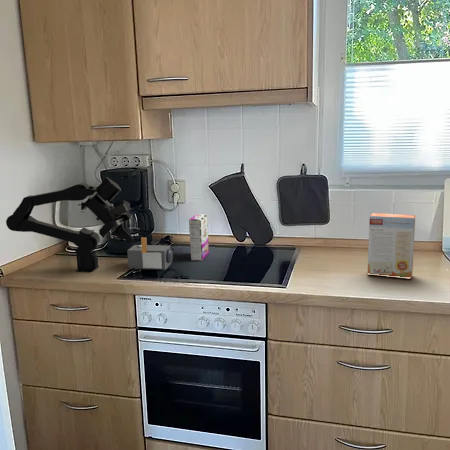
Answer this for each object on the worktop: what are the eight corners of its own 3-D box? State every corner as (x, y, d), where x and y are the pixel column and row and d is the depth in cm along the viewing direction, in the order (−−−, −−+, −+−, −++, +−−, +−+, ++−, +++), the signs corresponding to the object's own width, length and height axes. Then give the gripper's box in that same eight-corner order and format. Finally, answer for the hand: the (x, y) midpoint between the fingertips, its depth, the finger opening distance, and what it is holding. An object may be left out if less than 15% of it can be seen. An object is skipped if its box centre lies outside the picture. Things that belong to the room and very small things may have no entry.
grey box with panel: (128, 268, 172) (127, 248, 171) (135, 262, 180) (134, 243, 179) (168, 269, 170) (167, 249, 169) (174, 263, 178) (173, 244, 176)
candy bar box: (197, 253, 192) (196, 213, 189) (209, 253, 191) (208, 213, 188) (189, 260, 182) (188, 219, 178) (202, 261, 181) (201, 219, 177)
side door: (142, 268, 170) (141, 238, 168) (143, 267, 171) (142, 237, 169) (161, 268, 169) (160, 238, 167) (162, 267, 170) (160, 237, 168)
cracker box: (412, 275, 158) (416, 214, 154) (411, 280, 153) (415, 217, 149) (369, 271, 164) (372, 212, 160) (366, 275, 159) (369, 215, 155)
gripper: (105, 198, 157) (139, 231, 158) (125, 191, 175) (155, 220, 176) (85, 221, 160) (118, 253, 161) (106, 211, 178) (135, 240, 179)
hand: (132, 240), depth 169 cm, fingers closed
